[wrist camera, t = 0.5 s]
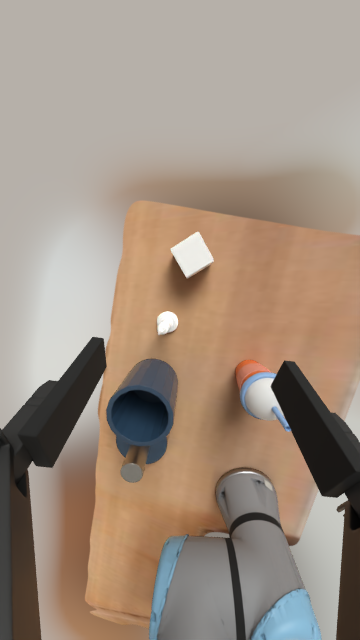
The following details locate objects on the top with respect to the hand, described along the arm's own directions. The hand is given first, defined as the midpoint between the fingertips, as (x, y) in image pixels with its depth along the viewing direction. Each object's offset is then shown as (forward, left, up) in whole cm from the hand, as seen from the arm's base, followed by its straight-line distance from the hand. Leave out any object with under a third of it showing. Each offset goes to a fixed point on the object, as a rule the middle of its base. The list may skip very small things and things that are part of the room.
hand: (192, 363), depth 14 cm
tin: (-12, +16, -29) cm, 35 cm away
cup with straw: (-19, -6, -29) cm, 35 cm away
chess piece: (0, +6, -29) cm, 30 cm away
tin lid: (-25, +26, -28) cm, 45 cm away
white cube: (+10, -5, -29) cm, 31 cm away
